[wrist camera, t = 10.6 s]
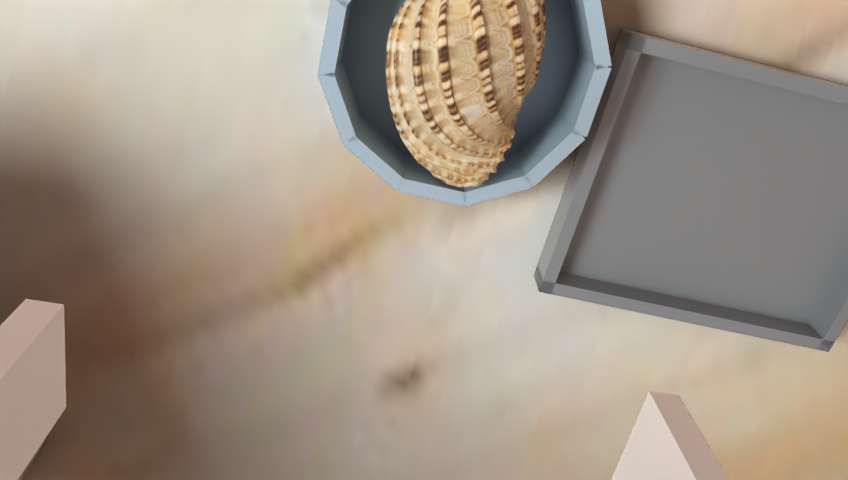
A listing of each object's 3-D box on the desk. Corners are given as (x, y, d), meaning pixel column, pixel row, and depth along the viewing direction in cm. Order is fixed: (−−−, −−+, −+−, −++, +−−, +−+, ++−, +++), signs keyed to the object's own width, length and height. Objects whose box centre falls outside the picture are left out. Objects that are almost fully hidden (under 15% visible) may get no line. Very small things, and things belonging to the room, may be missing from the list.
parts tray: (534, 275, 39) (539, 291, 37) (621, 27, 33) (632, 33, 31) (812, 334, 41) (828, 351, 39) (942, 110, 35) (968, 119, 33)
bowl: (313, 143, 35) (301, 170, 32) (359, -120, 30) (351, -124, 26) (541, 195, 36) (555, 226, 33) (624, -49, 31) (650, -43, 28)
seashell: (560, 117, 35) (523, -90, 29) (581, 179, 30) (540, -54, 24) (414, 153, 36) (351, -38, 30) (411, 218, 31) (335, 6, 25)
